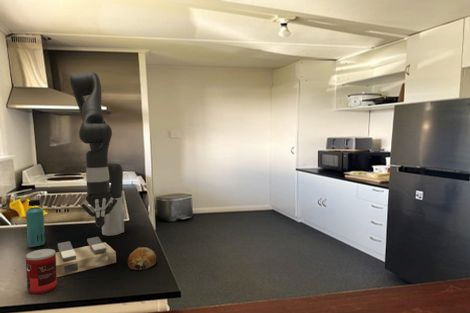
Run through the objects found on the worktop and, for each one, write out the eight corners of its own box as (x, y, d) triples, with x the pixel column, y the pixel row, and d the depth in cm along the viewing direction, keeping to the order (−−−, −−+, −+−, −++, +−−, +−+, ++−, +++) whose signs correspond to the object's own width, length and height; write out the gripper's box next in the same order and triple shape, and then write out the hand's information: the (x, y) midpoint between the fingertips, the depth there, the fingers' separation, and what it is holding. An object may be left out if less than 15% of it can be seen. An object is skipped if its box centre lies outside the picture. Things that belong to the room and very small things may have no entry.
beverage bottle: (37, 250, 129) (34, 202, 128) (23, 249, 130) (20, 201, 129) (49, 245, 136) (47, 198, 134) (36, 244, 137) (33, 198, 135)
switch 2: (98, 241, 124) (98, 236, 124) (106, 252, 117) (106, 247, 116) (87, 243, 122) (87, 238, 121) (94, 255, 114) (94, 250, 114)
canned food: (35, 282, 102) (33, 249, 101) (61, 281, 102) (60, 248, 102) (21, 294, 94) (19, 258, 93) (49, 293, 95) (48, 257, 94)
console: (105, 252, 128) (105, 242, 127) (116, 262, 117) (116, 252, 117) (48, 264, 115) (47, 254, 115) (54, 278, 105) (54, 266, 104)
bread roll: (159, 272, 117) (163, 250, 120) (143, 271, 108) (149, 247, 111) (136, 269, 120) (141, 247, 123) (119, 267, 111) (125, 244, 114)
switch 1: (69, 245, 118) (70, 240, 118) (76, 260, 111) (76, 255, 110) (57, 248, 116) (57, 243, 115) (62, 263, 108) (63, 258, 108)
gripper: (113, 176, 121) (115, 220, 123) (75, 180, 113) (77, 227, 115) (120, 178, 115) (121, 225, 117) (80, 182, 107) (83, 233, 109)
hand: (100, 226), depth 116 cm, fingers closed
